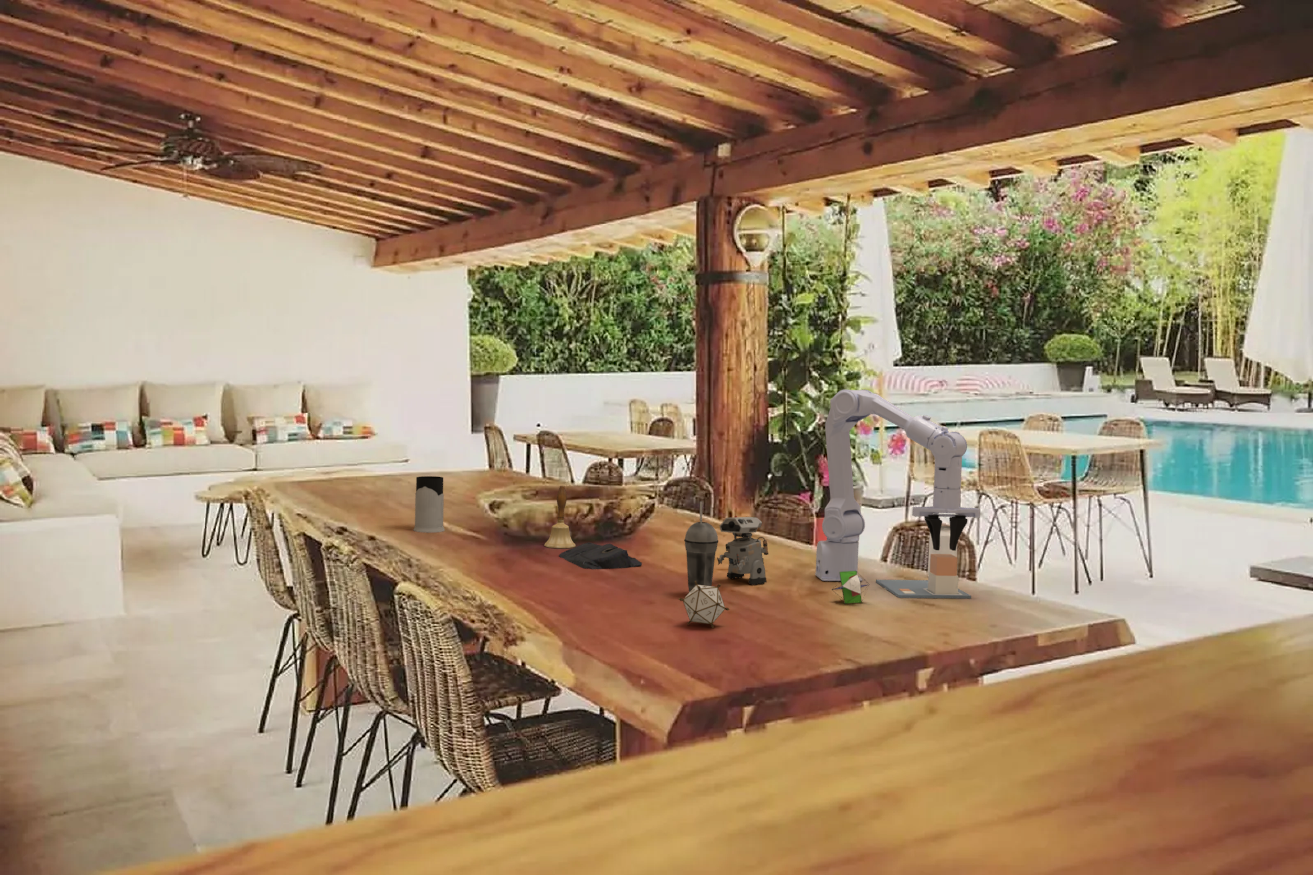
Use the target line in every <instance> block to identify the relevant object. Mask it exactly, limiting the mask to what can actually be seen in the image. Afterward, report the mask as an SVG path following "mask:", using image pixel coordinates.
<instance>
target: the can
mask: <svg viewBox="0 0 1313 875" xmlns="http://www.w3.org/2000/svg"><path fill="white" fill-rule="evenodd" d="M928 540H929V541H928V561H927V562H928V563H927V564H928V565H927V575H929V572H930V559H931V554H951V555H953V556H955V557H957V558H958V546H957V547H956V551H953V550H950V547H949V543H950V525H949V526H948V525H941V531H940V549H939V550H934V549H933V542H932V538H931V534H930V533H929V539H928Z"/></svg>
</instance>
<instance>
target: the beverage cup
mask: <svg viewBox="0 0 1313 875" xmlns="http://www.w3.org/2000/svg"><path fill="white" fill-rule="evenodd" d="M718 543H719V538H718V532H717V530H716V529H715V527H714V526H713V525H712V524H710V523H709V522H707V521H703V501H699V521H696V522H694V523H692V524H691V525H690V526H689V527H688V529H687V530H686V532H685V537H684V547H685V551H686V569H687V587H688V593H689V592H690V591H691V590H692V589H693V588H694V587H695V586H696V585H695V581H696V582H697V584H698V585H706V586H713V578H714V570H715V560H716V552H717V549H718Z"/></svg>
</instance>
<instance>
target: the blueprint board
mask: <svg viewBox="0 0 1313 875" xmlns="http://www.w3.org/2000/svg"><path fill="white" fill-rule="evenodd" d="M875 583H876V584H877V585H879V586H880V587H883V589H885V590H886V591H888V592H890V593H891V594H893V595H894V596H896V597H897V598H899V599H903V598H904V599H969V600H970V599H971V600H972V595H971V594H969V593H968V592H966V591H964V590H961V589H960V588H958V594H934V593H933V592H931V591H929V590H928V579H926V580H925V579H876V580H875Z"/></svg>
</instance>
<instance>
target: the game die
mask: <svg viewBox="0 0 1313 875" xmlns="http://www.w3.org/2000/svg"><path fill="white" fill-rule="evenodd" d="M695 585H696V586H695V587H694V588H693V589H692V590H691V591H690V592H689V591H688V593H687V595H685V596H684V598H681V597H679V598H678V600H679V601H680V602H682V604H683V606H684V608H685V611H686V614H687V617H688V619H689V621H687V626H688V625H691V624H692V623H695V624H696V623H698V624H706V625H710V626H711V627H710V628H712V629H714V627H715V625H714V624H713V623H715V622H716V620H717V619H718V618H719V617H720V616H721V614H723V613H724V611H730V610H731V609H730V608H729V607H726V606H725V603H724V600H723V598H722V593H721V591H720V587H721V585H722V584H721V583H718V585H716V586H713V585H712V586H706V585H698V584H697V582H696V581H695Z"/></svg>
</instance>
